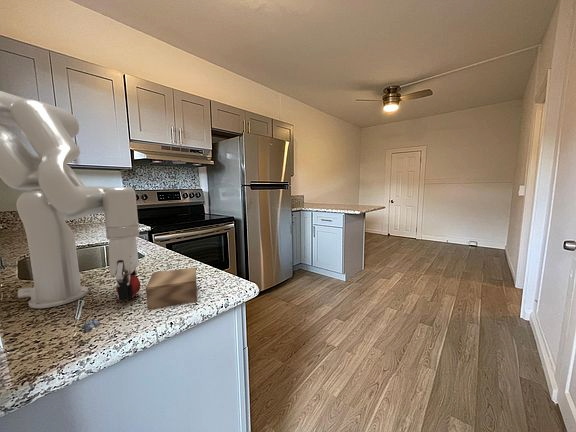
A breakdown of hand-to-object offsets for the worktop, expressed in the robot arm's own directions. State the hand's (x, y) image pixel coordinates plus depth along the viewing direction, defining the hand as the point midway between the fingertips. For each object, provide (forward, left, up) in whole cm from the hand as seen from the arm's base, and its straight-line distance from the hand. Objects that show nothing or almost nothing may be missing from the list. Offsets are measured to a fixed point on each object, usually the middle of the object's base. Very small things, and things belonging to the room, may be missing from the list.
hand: (129, 293), depth 70 cm
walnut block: (+12, -3, -2) cm, 12 cm away
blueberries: (-6, -12, -2) cm, 14 cm away
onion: (0, 0, -2) cm, 2 cm away
